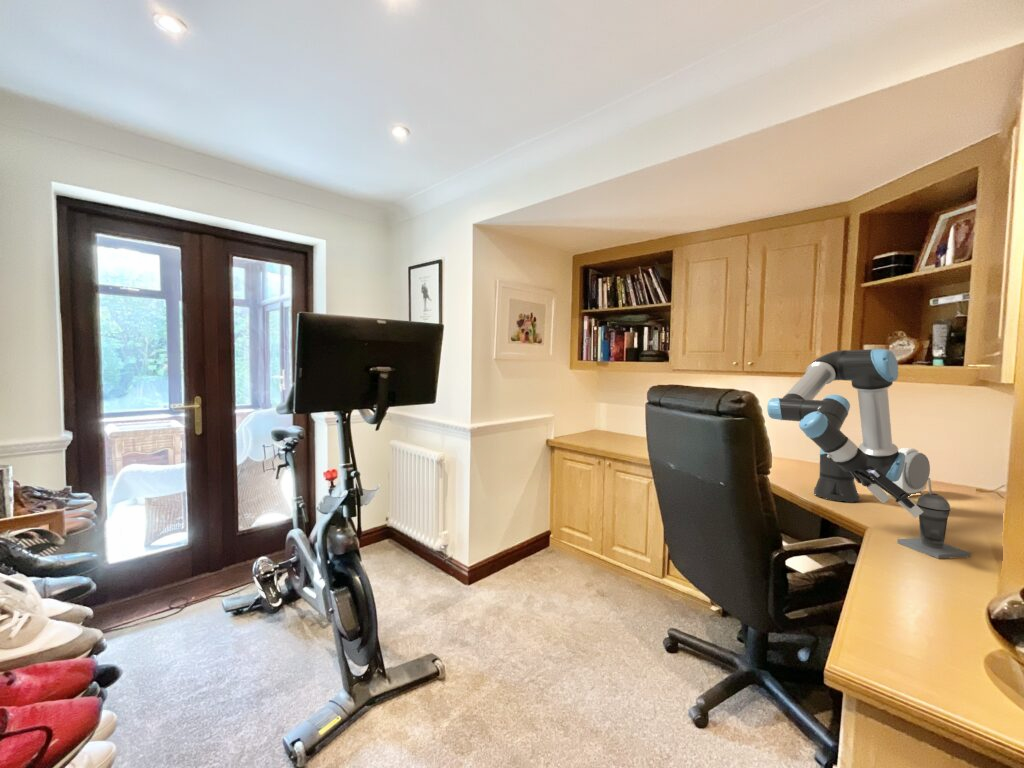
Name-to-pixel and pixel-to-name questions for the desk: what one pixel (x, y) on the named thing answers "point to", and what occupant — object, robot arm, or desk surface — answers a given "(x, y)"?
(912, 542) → the charcoal rubber mat
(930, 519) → the beverage cup
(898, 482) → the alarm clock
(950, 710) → the desk surface
